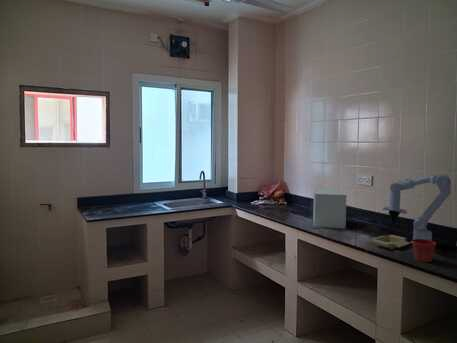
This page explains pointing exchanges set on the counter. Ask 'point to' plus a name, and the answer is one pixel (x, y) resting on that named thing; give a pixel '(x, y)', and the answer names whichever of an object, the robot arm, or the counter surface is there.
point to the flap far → (377, 237)
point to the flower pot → (423, 249)
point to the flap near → (401, 243)
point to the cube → (329, 208)
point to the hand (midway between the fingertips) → (393, 222)
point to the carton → (387, 241)
